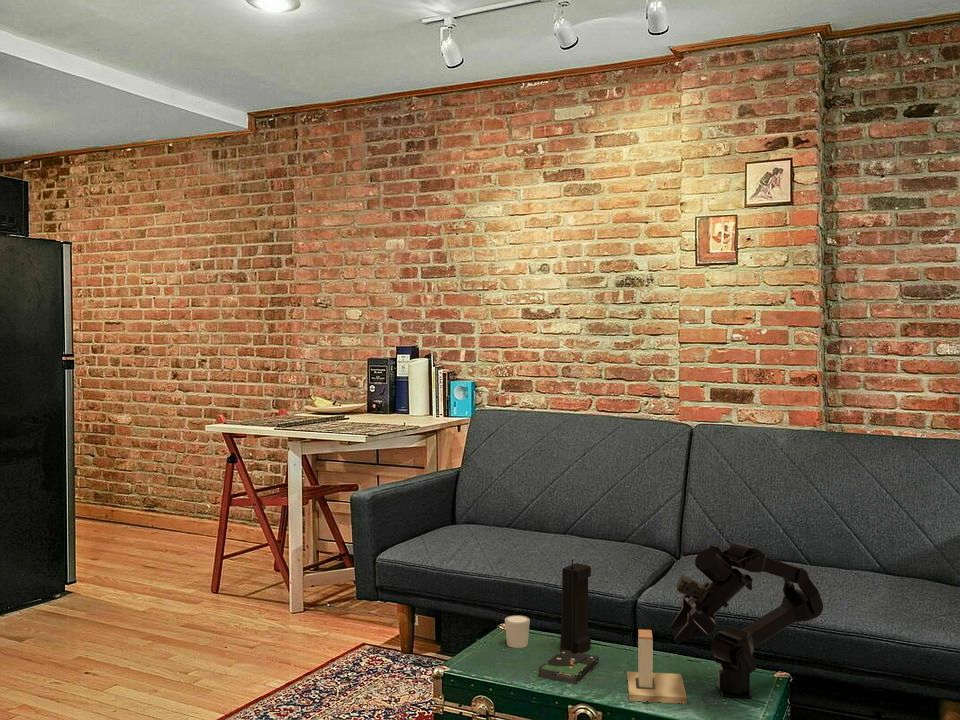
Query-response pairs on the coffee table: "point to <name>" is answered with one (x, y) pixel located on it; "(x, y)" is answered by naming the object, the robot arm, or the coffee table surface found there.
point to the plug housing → (645, 658)
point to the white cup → (517, 631)
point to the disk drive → (568, 666)
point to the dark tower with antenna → (575, 608)
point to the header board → (658, 688)
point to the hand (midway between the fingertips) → (673, 634)
